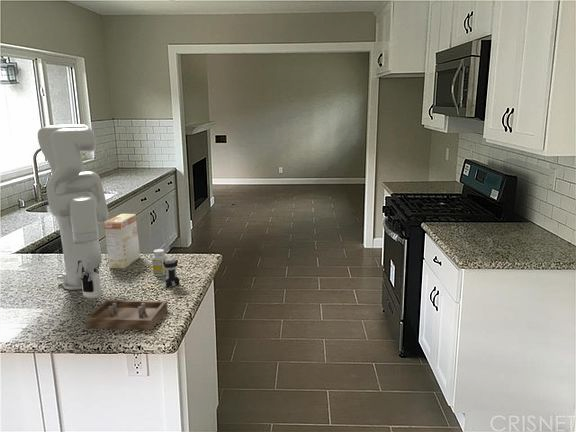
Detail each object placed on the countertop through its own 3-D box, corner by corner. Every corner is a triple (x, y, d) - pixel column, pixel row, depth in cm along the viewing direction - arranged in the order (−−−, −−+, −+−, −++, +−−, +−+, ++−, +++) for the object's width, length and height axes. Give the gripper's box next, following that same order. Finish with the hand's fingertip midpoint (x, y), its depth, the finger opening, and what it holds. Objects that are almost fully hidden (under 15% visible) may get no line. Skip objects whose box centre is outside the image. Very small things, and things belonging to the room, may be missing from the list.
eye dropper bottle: (91, 300, 154) (87, 265, 151) (81, 296, 158) (77, 261, 155) (103, 296, 158) (99, 261, 155) (93, 291, 161) (90, 258, 158)
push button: (164, 289, 171) (162, 263, 169) (159, 285, 175) (156, 259, 173) (182, 285, 175) (180, 259, 173) (176, 281, 179) (174, 255, 177)
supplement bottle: (157, 277, 184) (155, 253, 182) (150, 274, 188) (148, 250, 186) (170, 273, 187) (168, 250, 185) (163, 270, 191) (161, 247, 189)
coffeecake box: (125, 256, 210) (121, 213, 205) (140, 257, 209) (136, 213, 204) (108, 268, 195) (103, 221, 191) (124, 268, 194) (120, 222, 190)
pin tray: (86, 328, 143) (84, 314, 142) (107, 308, 156) (106, 295, 155) (151, 329, 141) (150, 315, 140) (167, 309, 154) (166, 296, 153)
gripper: (87, 227, 161) (92, 278, 165) (60, 243, 145) (67, 299, 149) (108, 228, 160) (113, 279, 165) (84, 244, 144) (90, 300, 149)
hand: (91, 288), depth 157 cm, fingers closed on eye dropper bottle, 3 cm apart
